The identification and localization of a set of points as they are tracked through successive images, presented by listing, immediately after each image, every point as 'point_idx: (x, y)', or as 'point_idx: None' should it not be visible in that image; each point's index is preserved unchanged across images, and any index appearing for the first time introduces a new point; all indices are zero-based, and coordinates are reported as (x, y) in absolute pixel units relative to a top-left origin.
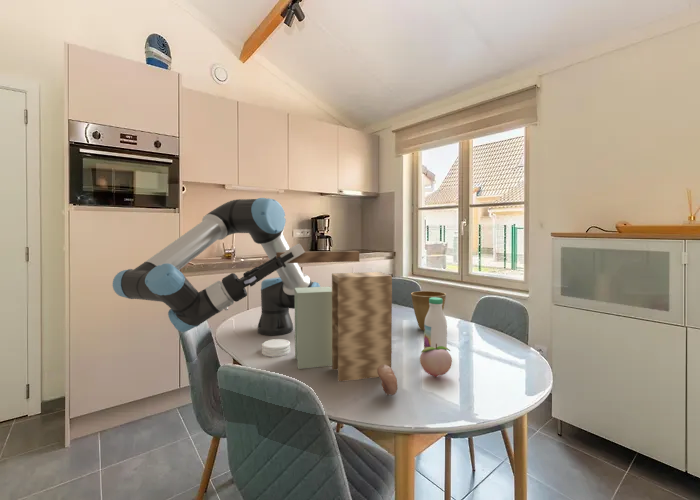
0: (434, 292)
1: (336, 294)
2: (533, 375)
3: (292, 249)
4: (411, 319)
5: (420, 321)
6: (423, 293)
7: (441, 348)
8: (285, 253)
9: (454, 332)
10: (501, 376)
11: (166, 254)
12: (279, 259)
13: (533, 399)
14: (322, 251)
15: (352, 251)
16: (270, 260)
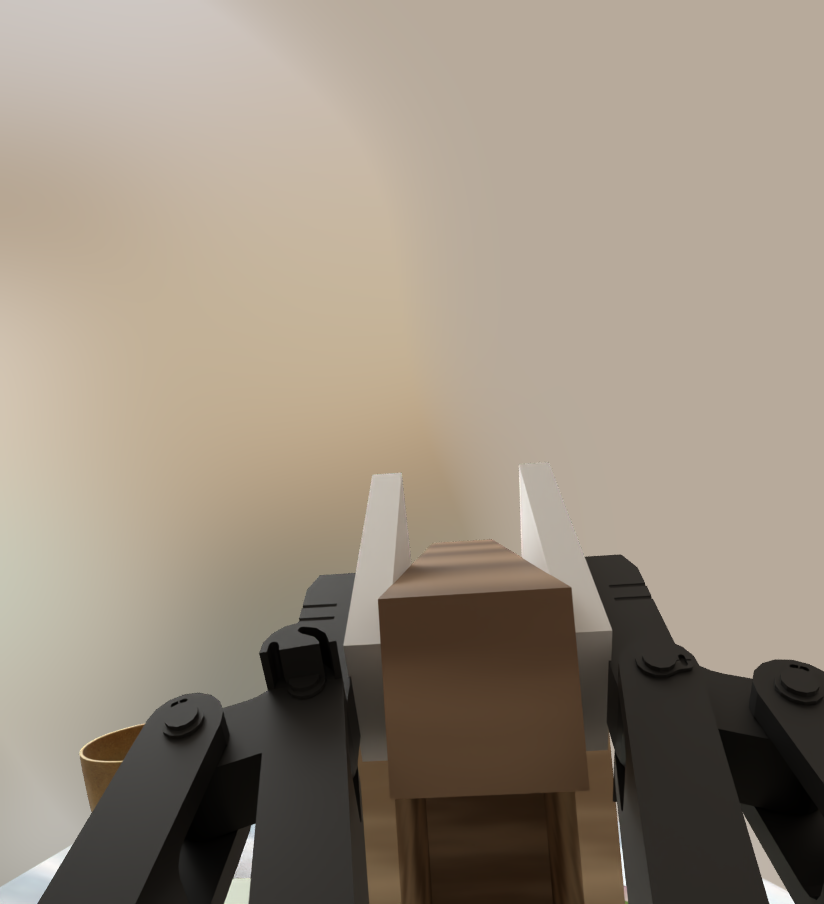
0: (136, 729)
1: (404, 887)
2: (619, 837)
3: (568, 524)
4: (6, 889)
5: None
6: (99, 747)
7: None
8: (593, 583)
9: (245, 845)
10: (623, 882)
11: None
12: (732, 685)
13: (771, 886)
14: (435, 553)
15: (493, 540)
16: (313, 808)
